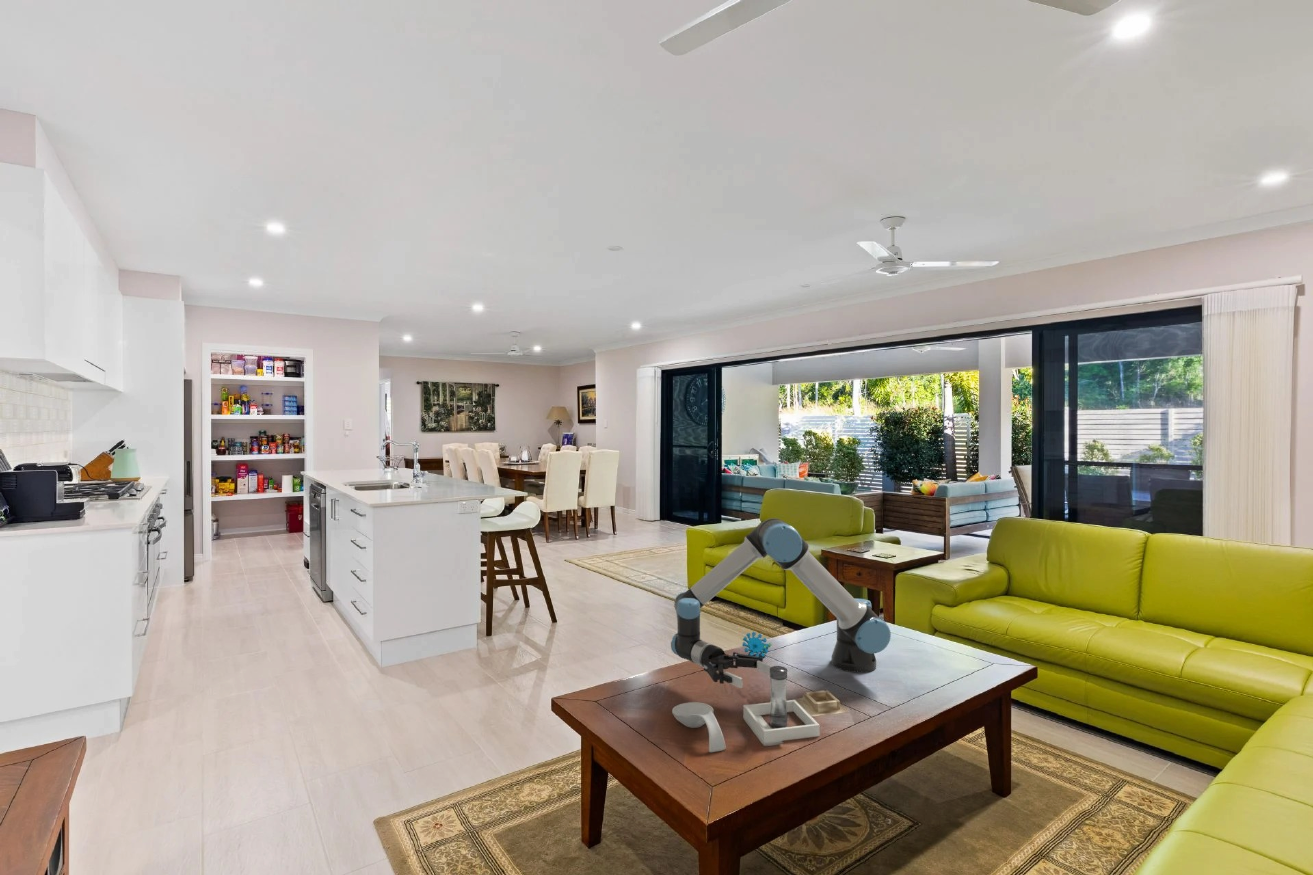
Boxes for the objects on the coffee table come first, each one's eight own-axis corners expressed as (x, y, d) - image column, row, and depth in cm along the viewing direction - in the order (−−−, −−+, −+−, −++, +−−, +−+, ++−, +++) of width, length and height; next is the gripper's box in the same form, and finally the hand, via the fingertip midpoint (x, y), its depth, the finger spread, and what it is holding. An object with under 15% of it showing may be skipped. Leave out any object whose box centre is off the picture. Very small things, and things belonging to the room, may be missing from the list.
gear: (744, 655, 231) (741, 630, 238) (740, 662, 235) (737, 637, 242) (774, 657, 233) (770, 632, 240) (768, 665, 237) (765, 639, 244)
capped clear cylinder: (784, 720, 183) (784, 665, 182) (789, 728, 178) (788, 672, 178) (768, 720, 183) (768, 665, 182) (771, 729, 178) (771, 673, 177)
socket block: (830, 697, 200) (830, 686, 200) (849, 715, 188) (849, 703, 188) (794, 701, 197) (794, 690, 197) (811, 719, 186) (811, 707, 185)
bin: (794, 712, 190) (794, 699, 190) (819, 739, 174) (819, 724, 174) (743, 718, 186) (743, 705, 186) (764, 746, 171) (764, 731, 171)
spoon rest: (666, 716, 189) (666, 692, 188) (703, 710, 193) (703, 686, 192) (698, 756, 166) (698, 729, 166) (739, 748, 170) (739, 721, 170)
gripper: (736, 658, 211) (786, 679, 194) (678, 677, 196) (727, 701, 179) (736, 636, 211) (786, 654, 194) (678, 653, 196) (726, 675, 179)
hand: (758, 677), depth 187 cm, fingers open, 13 cm apart
